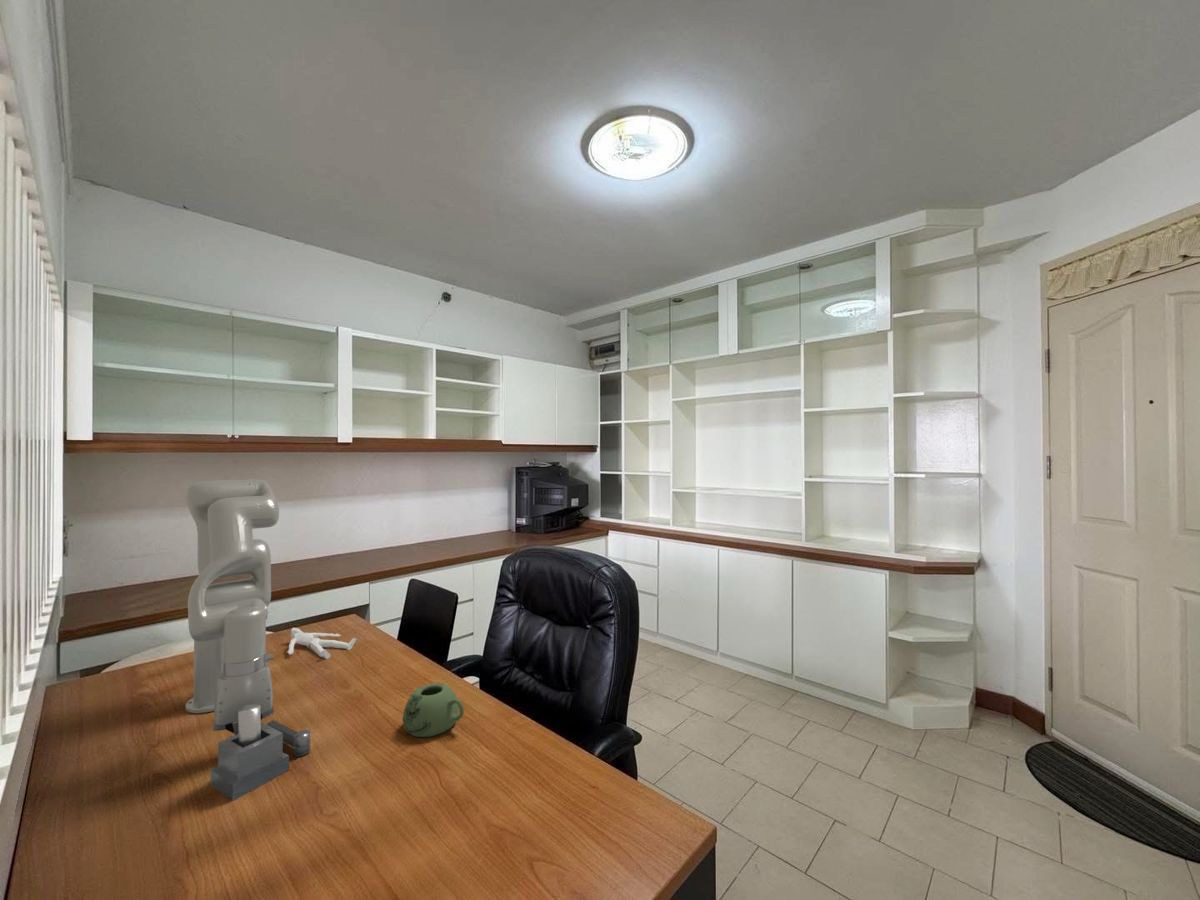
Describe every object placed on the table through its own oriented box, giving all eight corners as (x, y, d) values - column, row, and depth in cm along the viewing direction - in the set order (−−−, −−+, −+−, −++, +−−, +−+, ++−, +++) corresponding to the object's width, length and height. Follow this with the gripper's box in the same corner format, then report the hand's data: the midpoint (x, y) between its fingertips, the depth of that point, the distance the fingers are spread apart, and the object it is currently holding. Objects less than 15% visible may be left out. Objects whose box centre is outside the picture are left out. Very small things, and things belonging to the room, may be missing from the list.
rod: (235, 765, 94) (234, 710, 94) (255, 755, 97) (254, 702, 98) (244, 770, 93) (244, 715, 93) (264, 760, 96) (264, 706, 96)
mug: (390, 734, 110) (390, 697, 110) (429, 707, 122) (429, 674, 122) (444, 749, 104) (444, 710, 104) (480, 719, 116) (480, 684, 116)
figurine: (311, 671, 148) (263, 648, 158) (362, 649, 165) (316, 629, 175) (313, 654, 148) (265, 632, 158) (364, 634, 165) (318, 615, 175)
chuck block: (210, 785, 93) (211, 744, 93) (266, 757, 102) (266, 720, 102) (232, 800, 89) (233, 758, 89) (288, 770, 97) (289, 731, 97)
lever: (260, 737, 109) (260, 719, 109) (274, 730, 111) (274, 713, 111) (298, 758, 101) (298, 739, 101) (312, 750, 103) (313, 732, 104)
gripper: (283, 650, 111) (282, 728, 111) (200, 669, 101) (199, 755, 101) (287, 660, 105) (286, 743, 105) (200, 681, 96) (199, 772, 95)
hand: (243, 748), depth 103 cm, fingers closed
